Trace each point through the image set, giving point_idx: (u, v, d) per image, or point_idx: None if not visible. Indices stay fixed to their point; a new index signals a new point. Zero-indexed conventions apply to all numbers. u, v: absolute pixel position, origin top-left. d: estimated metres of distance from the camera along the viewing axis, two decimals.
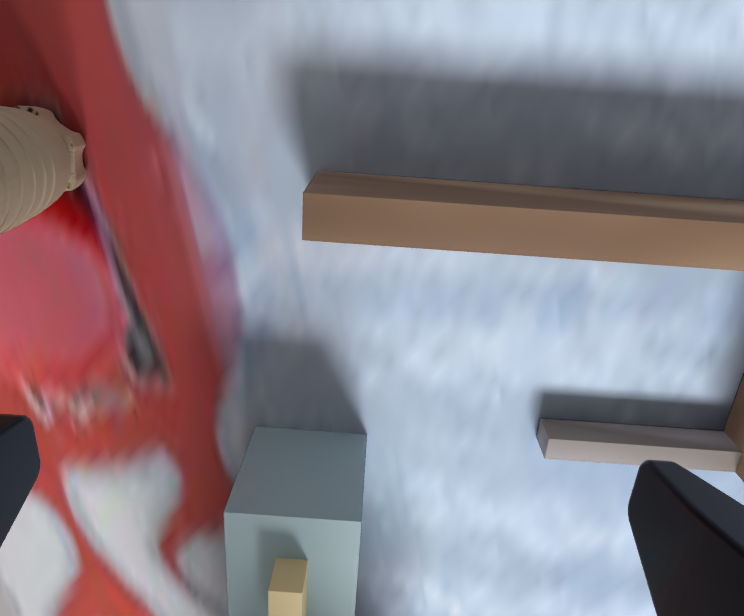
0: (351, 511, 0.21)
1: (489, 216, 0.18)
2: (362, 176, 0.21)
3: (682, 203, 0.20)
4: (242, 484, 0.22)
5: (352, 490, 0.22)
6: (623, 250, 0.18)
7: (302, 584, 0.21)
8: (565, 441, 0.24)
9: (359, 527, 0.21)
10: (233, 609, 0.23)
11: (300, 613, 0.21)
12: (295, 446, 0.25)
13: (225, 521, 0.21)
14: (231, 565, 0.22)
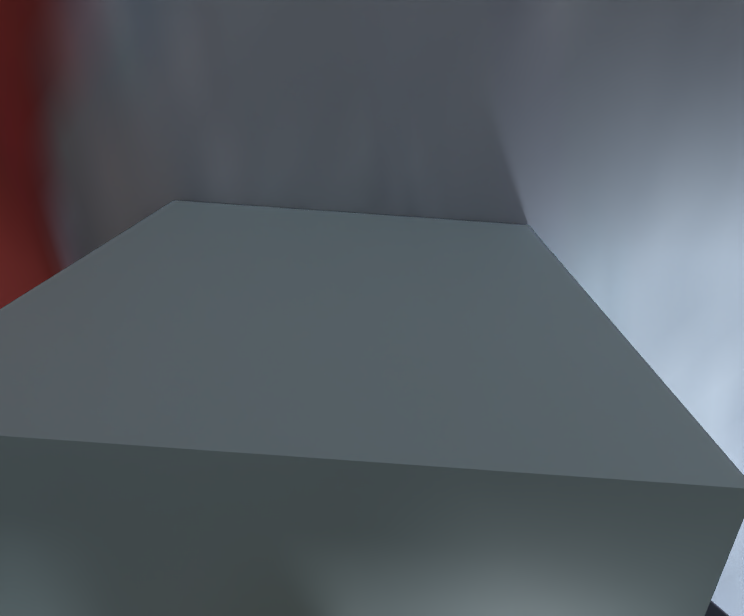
0: (641, 428, 0.04)
1: None
2: None
3: None
4: (40, 313, 0.05)
5: (583, 345, 0.05)
6: None
7: None
8: None
9: (728, 527, 0.03)
10: None
11: None
12: (299, 236, 0.07)
13: None
14: None
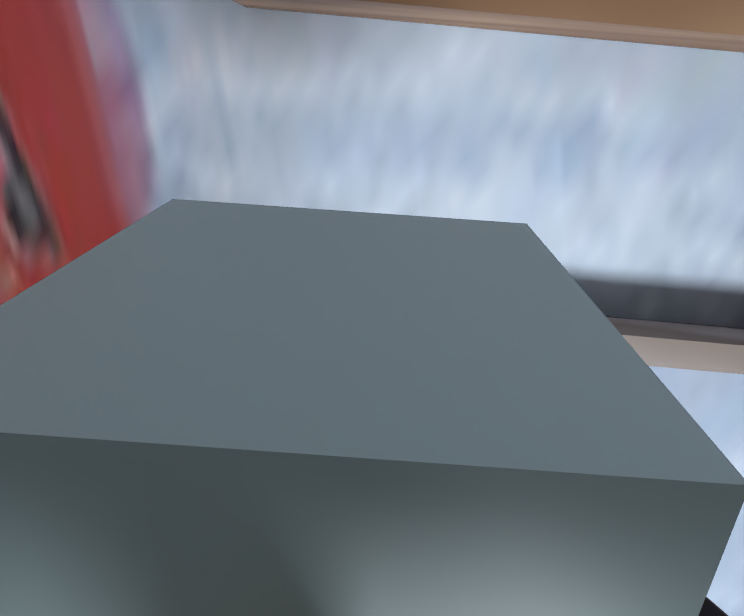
0: (637, 425, 0.04)
1: None
2: None
3: None
4: (38, 311, 0.05)
5: (580, 341, 0.05)
6: (658, 8, 0.13)
7: None
8: None
9: (723, 523, 0.03)
10: None
11: None
12: (297, 235, 0.07)
13: None
14: None
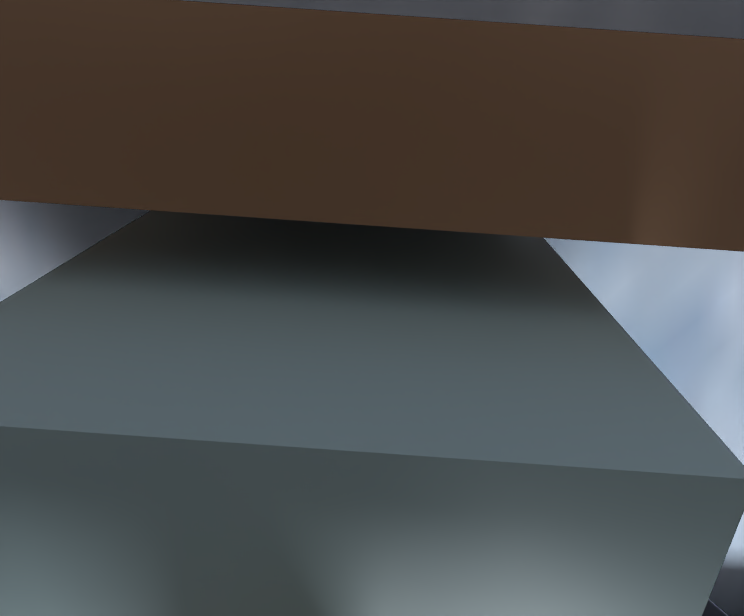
0: (641, 418, 0.04)
1: (437, 70, 0.04)
2: None
3: None
4: (39, 307, 0.05)
5: (583, 338, 0.05)
6: None
7: None
8: None
9: (728, 518, 0.03)
10: None
11: None
12: (298, 231, 0.07)
13: None
14: None
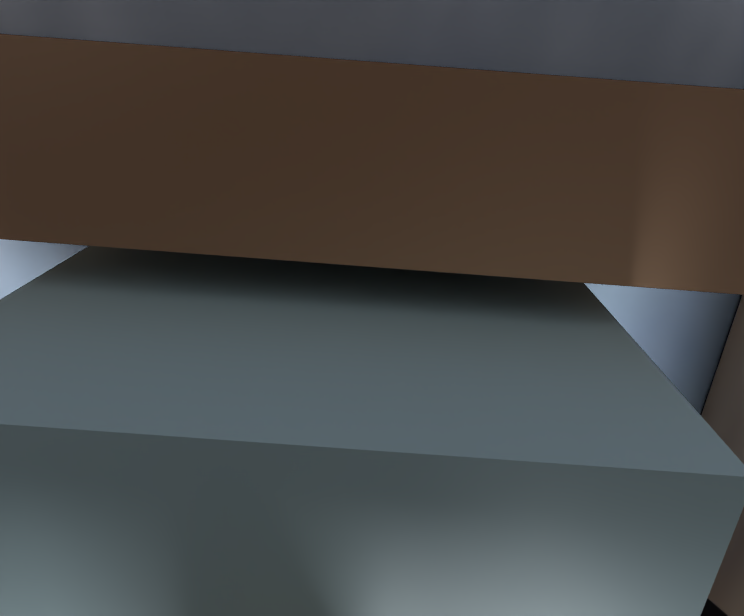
0: (641, 417, 0.04)
1: None
2: None
3: None
4: (38, 305, 0.05)
5: (582, 337, 0.05)
6: (79, 197, 0.04)
7: None
8: None
9: (728, 515, 0.03)
10: None
11: None
12: None
13: None
14: None
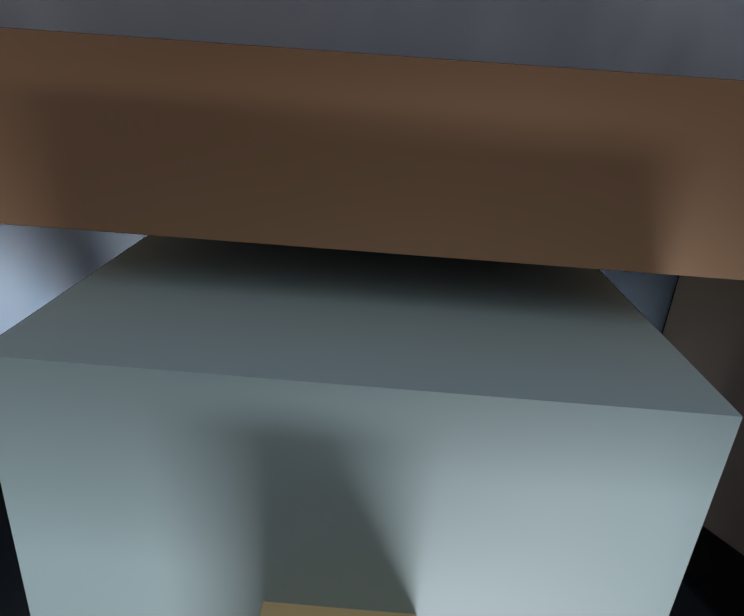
0: (648, 372, 0.04)
1: None
2: None
3: None
4: (124, 279, 0.05)
5: (597, 310, 0.05)
6: None
7: None
8: None
9: (720, 450, 0.04)
10: None
11: None
12: None
13: None
14: None
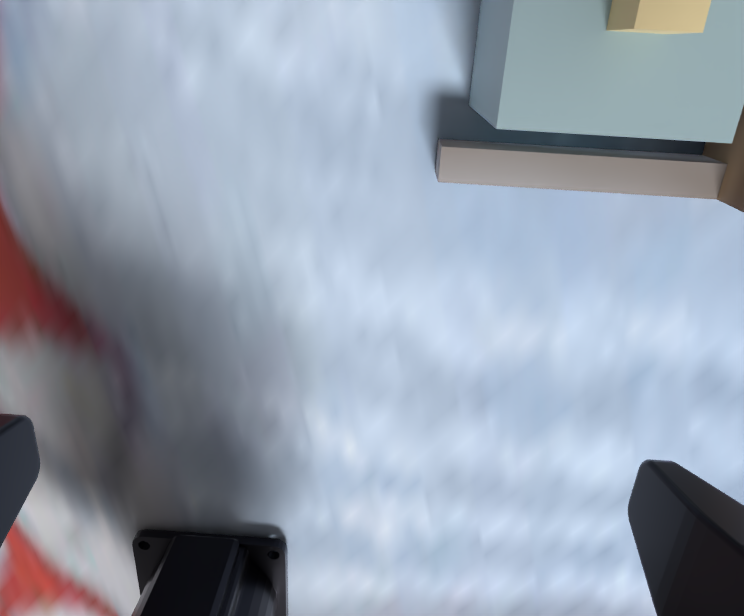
0: None
1: None
2: None
3: None
4: None
5: None
6: None
7: None
8: (465, 150, 0.16)
9: None
10: (522, 19, 0.12)
11: None
12: None
13: None
14: None
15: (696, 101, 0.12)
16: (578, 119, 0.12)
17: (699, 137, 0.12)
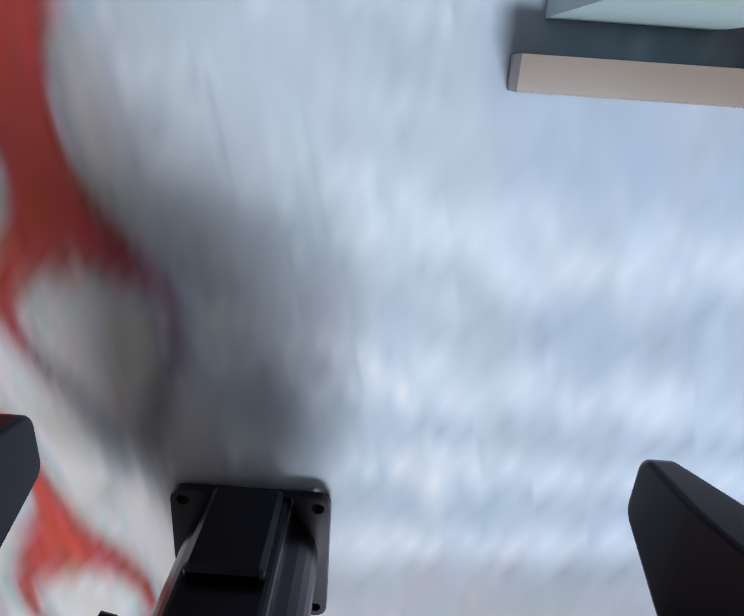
0: None
1: None
2: None
3: None
4: None
5: None
6: None
7: None
8: (547, 57, 0.16)
9: None
10: None
11: None
12: None
13: None
14: None
15: None
16: None
17: None
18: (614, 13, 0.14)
